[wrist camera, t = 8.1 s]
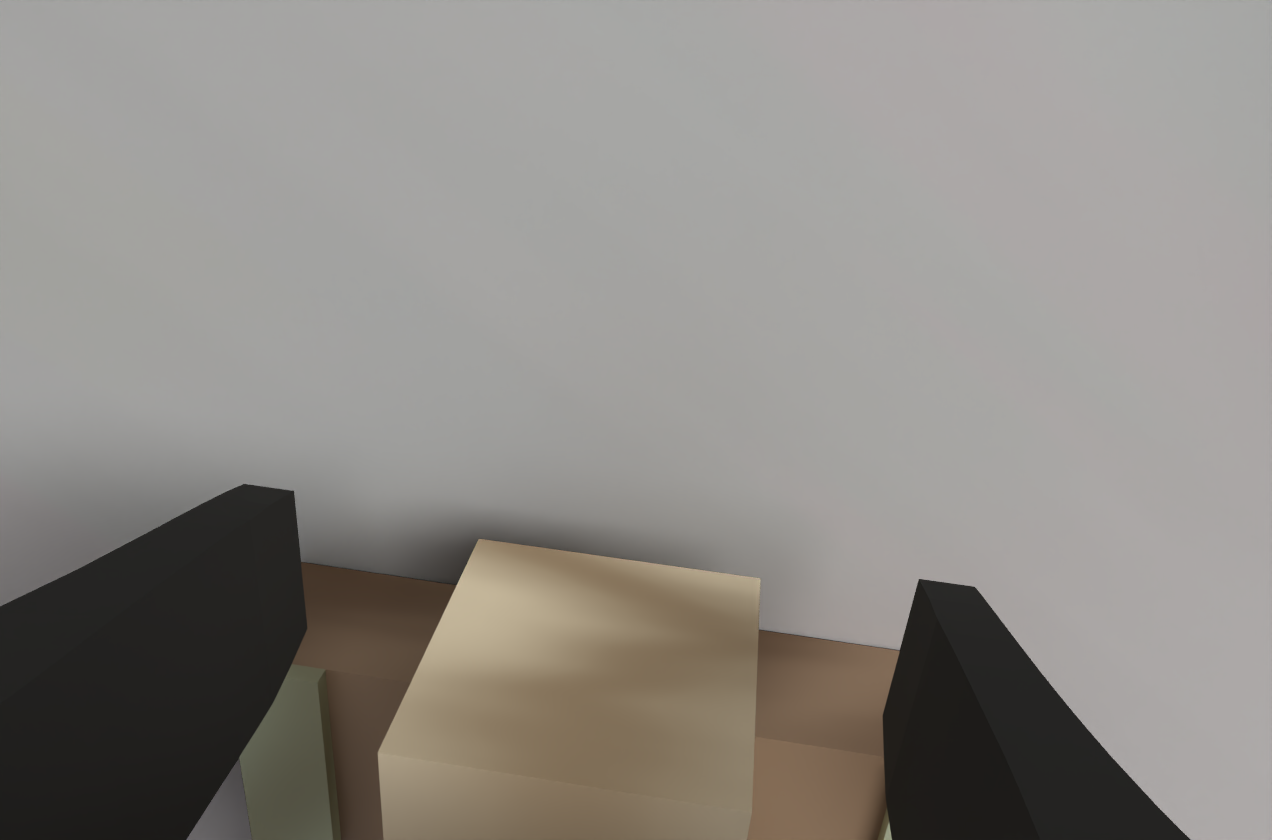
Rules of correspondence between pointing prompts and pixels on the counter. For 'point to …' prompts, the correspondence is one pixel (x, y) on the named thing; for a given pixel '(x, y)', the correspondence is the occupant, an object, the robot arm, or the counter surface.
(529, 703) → the ash block
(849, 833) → the walnut deck
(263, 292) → the counter surface
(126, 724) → the robot arm
